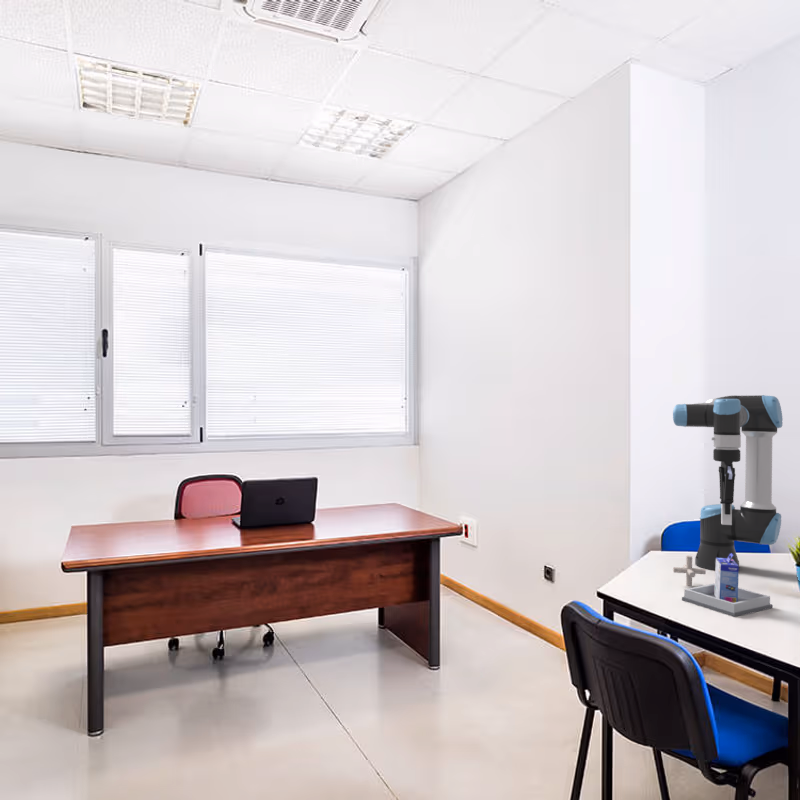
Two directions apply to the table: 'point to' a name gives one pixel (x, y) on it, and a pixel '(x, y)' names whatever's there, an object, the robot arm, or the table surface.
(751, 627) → the table surface
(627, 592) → the table surface
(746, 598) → the cartridge dock
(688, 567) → the pipe connector
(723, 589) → the ink cartridge box
